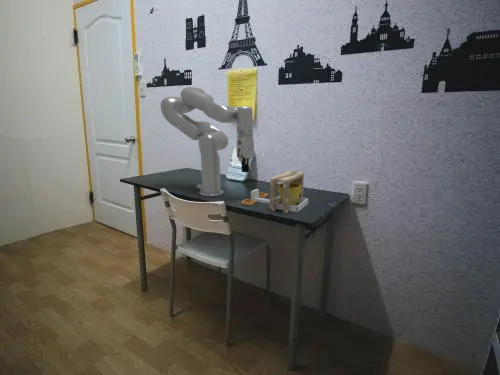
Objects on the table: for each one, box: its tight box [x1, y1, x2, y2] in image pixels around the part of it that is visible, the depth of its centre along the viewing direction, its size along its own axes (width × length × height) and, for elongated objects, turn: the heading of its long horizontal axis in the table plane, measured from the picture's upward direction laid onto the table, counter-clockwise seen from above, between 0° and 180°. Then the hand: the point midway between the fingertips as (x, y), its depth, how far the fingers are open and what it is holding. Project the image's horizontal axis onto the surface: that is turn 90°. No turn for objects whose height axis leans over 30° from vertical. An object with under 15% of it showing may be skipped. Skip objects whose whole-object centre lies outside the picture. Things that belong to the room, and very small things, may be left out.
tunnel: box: [269, 170, 305, 214], centre depth 137 cm, size 8×21×14 cm, turn 152°
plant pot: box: [277, 183, 301, 206], centre depth 137 cm, size 10×10×10 cm
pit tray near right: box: [240, 198, 257, 207], centre depth 140 cm, size 5×5×2 cm
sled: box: [250, 188, 309, 213], centre depth 140 cm, size 25×15×5 cm, turn 62°
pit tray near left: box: [259, 191, 269, 199], centre depth 152 cm, size 5×5×2 cm
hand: (245, 171), depth 145 cm, fingers closed
